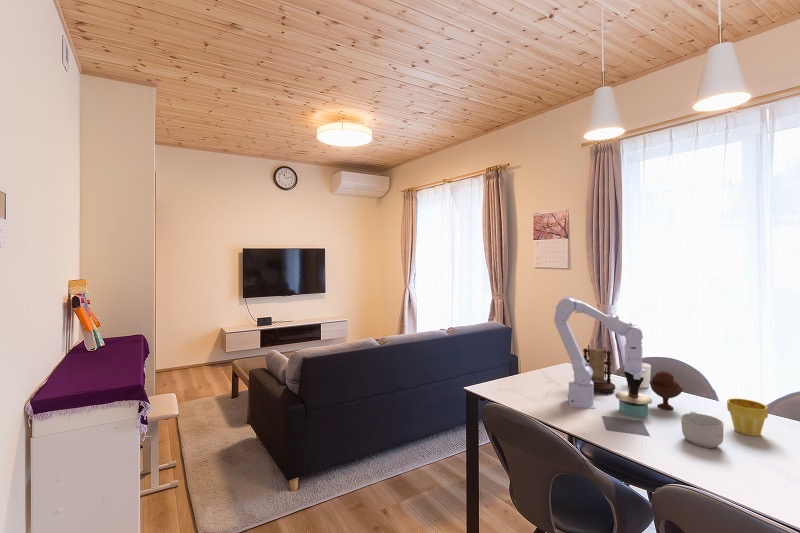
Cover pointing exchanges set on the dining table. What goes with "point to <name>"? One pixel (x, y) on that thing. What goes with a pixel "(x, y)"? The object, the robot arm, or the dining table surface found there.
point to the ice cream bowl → (665, 388)
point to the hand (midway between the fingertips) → (633, 392)
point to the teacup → (702, 429)
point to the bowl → (633, 409)
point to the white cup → (645, 375)
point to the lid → (633, 398)
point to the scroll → (599, 369)
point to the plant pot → (747, 415)
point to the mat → (625, 425)
